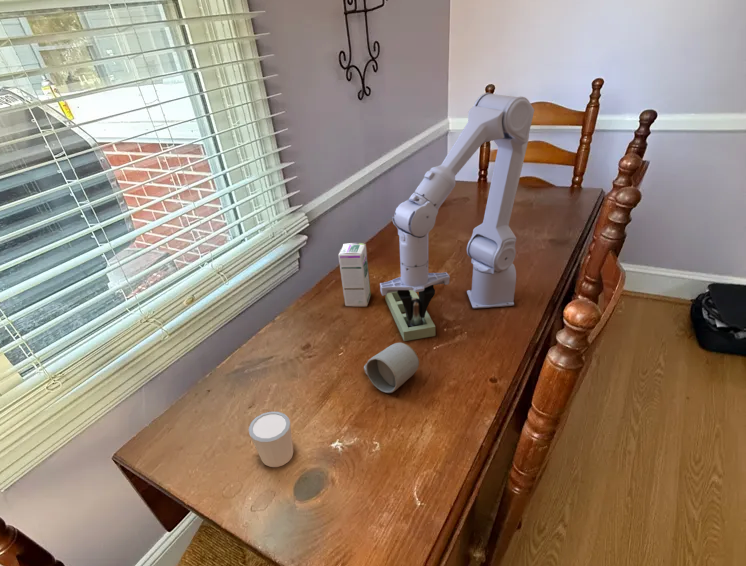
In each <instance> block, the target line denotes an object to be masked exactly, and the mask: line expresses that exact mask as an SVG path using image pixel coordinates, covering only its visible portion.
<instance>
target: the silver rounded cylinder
mask: <svg viewBox="0 0 746 566" xmlns="http://www.w3.org/2000/svg"><path fill="white" fill-rule="evenodd" d="M411 314H412V320H409V321H408V328H409V327H414V326H420V325H423V321H422V320H421V302H420V300H419V299H418V298H413V299H412V302H411Z"/></svg>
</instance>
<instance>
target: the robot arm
mask: <svg viewBox="0 0 746 566" xmlns="http://www.w3.org/2000/svg"><path fill="white" fill-rule="evenodd" d="M467 113H468V114H467V122H466V124H465V126H464V127H463V129H462V131H461V132H460V133H459V136H458V137H457V138H456V140H455V142H454V144H453V145H452V147H451V148H450V149H449V151H448V153H447V155H446V156H445V158H444V160H443V161H442V163H441V164H440V165H437V166H433V167H430V169H429V170H427V171H426V172H425V174H424V175H423V176H424V177H423V178H422V180H421V181H420V183H419V184H418V186H417V187H416V189H415V190H414V191H413V193H412V194H411V195H410V196H409V198H408V199H407V200H404V201H402V202H401V203H399V204H398V205H397V206H396V208H395V211H394V214H393V215H394V216H392V217H391V220H392V223H393V225H394V227H395V228H396V229H397V236H398V237H399V262H400V263H399V264H400V265H399V267H400V276H399V277H396V278H393V279H392V280H391V279H390V280H388V281H385V282H380V283H379V291H380V294H381V296H385V295H387V293H391V292H397V293H398V295H399V297H400V299H401V300H400V301H402V303H403V305H404V308H405V312H404V313H406V317H407V319H408V320H412V314H411V302H412V297H411V295H410V291H409V290H414V291H415V292H416V293H418V297H419V300H420V302H421V318H424V317H425V313H426V311H428V307H429V304H430V302H431V301H432V299H433V298H434V297H435V295H436V289H435V286H438V285H445V286H447V285H450V280H451V279H450V278H451V277H450V274H449V273H448V272H447V271H445V272H429V233H430V232H431V231H432V230H433V229H434V227H435V225H436V221H437V220H436V219H437V216H438V214H439V209H440V208H441V206H442V205H443V203H444V202H445V201H446V200H447V198H448V197H449V196H450V194H451V193H452V192H453V190H454V188H455V187H456V176H457V175H458V174H459V172H460V171H461V170H462V169H463V168H464V166H465V165H466V164H467V162H469V161H470V159H471V158H472V157H473V156H474V155H475V154H476V152H477V151H478V149H480V148H481V146H482V145H483V144H484V143H487V142H492V141H493V142H494V143H495V144H496V146H497V151H496V156H495V161H494V166H493V170H492V176H491V179H490V180H491V181H490V186H489V191H488V195H487V201H486V206H485V210H484V215H483V220H482V223H480V224H479V225H477V226H475V227H474V228H473V230H472V234H471V237H470V238H469V240H468V243H467V245H466V254H467V257H469V258H470V259H471V261H470V264H472V278H471V289H467V290H466V294H467V296H468V299H469V302H470V305H471V307H472V309H473V310H475V309H486V308H499V307H513V306H515V301H514V300H515V292H516V284H517V270H516V266H515V264H514V261H515V258H516V253H517V250H516V242H517V237H516V235H515V233H514V232H513V231H512V229H511V227H510V221H511V217H512V213H513V208H514V203H515V199H516V195H517V191H518V186H519V183H520V178H521V173H522V170H523V165H524V160H525V157H526V152H527V149H528V143H529V139H530V132H531V127H532V123H533V118H534V114H535V108H534V107H533V105H532V104H531V102H530V100H529V99H528V98H527V97H526V96H521V95H520V96H512V95H504V94H494V93H491V92H485V93H482V94H481V95H479V97H477V99H476V100H475V102H474V104H473V106H472V107H471V108H470V109H469V110H468V112H467Z"/></svg>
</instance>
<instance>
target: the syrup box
mask: <svg viewBox="0 0 746 566" xmlns="http://www.w3.org/2000/svg"><path fill="white" fill-rule="evenodd" d="M337 256H338V262H339V263H338V264H339V271H340V277H341V285H342V292H343V299H344V305H345V307H368V304H369V302H370V299H371V296H372V292H371V283H370V282H371V281H370V272H369V262H368V252H367V244H366V242H365V243H364V242H350V243H349V242H348V243H343V244H342V246H341V249H340V250H339V252H338V254H337Z"/></svg>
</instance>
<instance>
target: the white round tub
mask: <svg viewBox="0 0 746 566" xmlns="http://www.w3.org/2000/svg"><path fill="white" fill-rule="evenodd" d="M291 425H292V424H291V421H290V418H289V416H287V415H286V413H284V412H281V411H268V412H264V413H261V414H259V415H258V416H256V417H255V418H254V419H253V420H252V421H251V422H250V424H249V426H248V433H249V436H250V439H251V441H252V443H253V445H254V447H255V450H256V452H257V453H258V456H259V458H260V460H261V462H262V463H263V465H265V466H267V467H270V468H279V467H283V466H284V465H286V464H287V463H289V462H290V461H291V460H292V458H293V455H294V446H293V435H292V426H291Z"/></svg>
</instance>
